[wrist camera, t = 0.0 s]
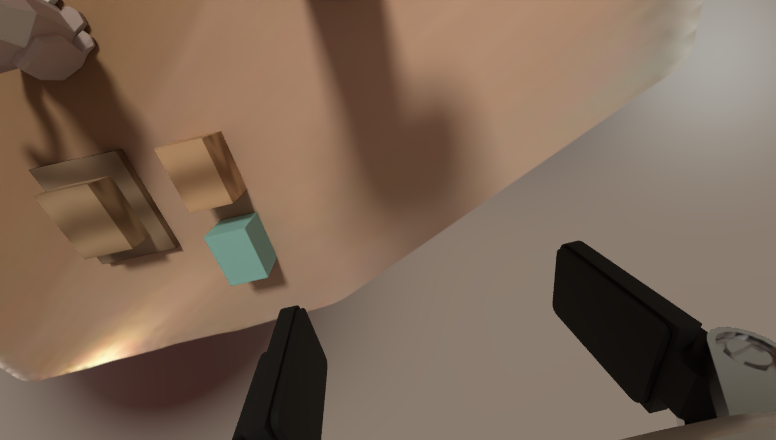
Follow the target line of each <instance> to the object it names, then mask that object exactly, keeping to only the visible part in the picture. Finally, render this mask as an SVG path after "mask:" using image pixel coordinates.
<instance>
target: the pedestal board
mask: <svg viewBox="0 0 776 440" xmlns="http://www.w3.org/2000/svg"><path fill="white" fill-rule="evenodd" d="M29 171H30V172H31V174H32V175H33V176H34V178H35V179H36V180H37V181H38V183H39V184H40V185H41V186H42V188H43V189H44V190H45V192H44V193H41V194H39V195H36V196H34V197H35V199H36V200H37V201H38V202H39V204H40V205H41V206H42V207H43V209H44V210H45V211H46V212H47V213H48V215H49V216H50V217H51V218H52V220H53V221H54V222H55V223H56V225H57V226H58V227H59V228H60V230H61V231H62V232H63V233H64V234H65V236H66V237H67V238H68V239H69V241H70V242H71V243H72V244H73V246H74V247H75V248H76V249H77V251H78V252H79V253H80V254H81V255H82V257H83V258H84V259H89V258H94V257H97V258H98V259H99V261H100V262H101V263H102V264H107V263H111V262H116V261H120V260H125V259H129V258H133V257H138V256H142V255H147V254H151V253H156V252H160V251H165V250H169V249H173V248H176V247H177V246H178V245H180V244H179V242H178V240H177V239H176V237H175V235H174V234H173V232H172V231H171V229H170V227H169V226H168V224H167V222H166V221H165V219H164V217H163V216H162V214H161V213H160V211H159V209H158V208H157V206H156V204H155V203H154V201H153V199H152V198H151V196H150V195H149V193H148V191H147V190H146V188H145V186H144V185H143V183H142V181H141V180H140V178H139V177H138V175H137V173H136V172H135V170H134V168H133V167H132V165H131V163H130V162H129V160H128V158H127V157H126V155H125V154H124V152H123V150H122V149H120V150H115V151H111V152H106V153H102V154H97V155H92V156H88V157H83V158H79V159H74V160H70V161H65V162H60V163H56V164H51V165H47V166H42V167H38V168H34V169H30V170H29Z"/></svg>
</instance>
